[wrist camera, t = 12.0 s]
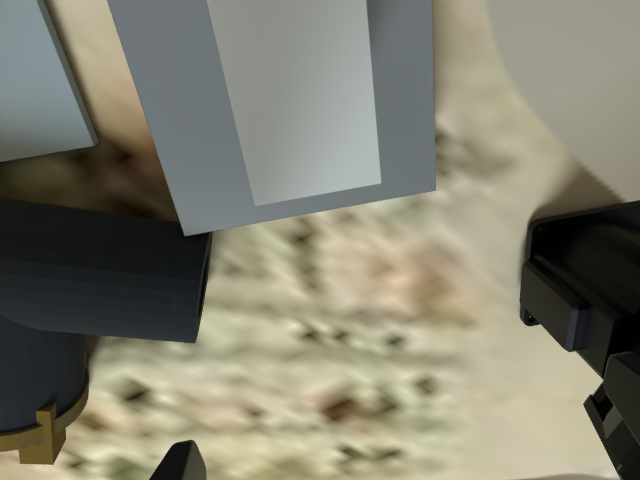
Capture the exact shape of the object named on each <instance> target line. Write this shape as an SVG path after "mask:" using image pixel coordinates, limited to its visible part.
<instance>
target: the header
mask: <svg viewBox="0 0 640 480" xmlns="http://www.w3.org/2000/svg"><path fill="white" fill-rule="evenodd" d="M107 2H108V5H109V8H110V11H111V14H112V17H113V20H114V23H115V26H116V29H117V32H118V35H119V38H120V41H121V44H122V47H123V50H124V54H125V57H126V60H127V63H128V66H129V69H130V72H131V75H132V78H133V81H134V84H135V87H136V90H137V93H138V96H139V99H140V102H141V105H142V108H143V111H144V114H145V117H146V120H147V123H148V126H149V129H150V132H151V136H152V139H153V142H154V145H155V148H156V151H157V154H158V157H159V160H160V163H161V166H162V169H163V172H164V175H165V178H166V181H167V184H168V187H169V190H170V193H171V196H172V199H173V202H174V205H175V208H176V211H177V214H178V217H179V221H180V224H181V227H182V230H183V233H184V236H189V235H194V234H200V233H205V232H211V231H216V230H222V229H227V228H233V227H238V226H244V225H249V224H255V223H260V222H266V221H271V220H277V219H282V218H288V217H293V216H299V215H304V214H310V213H315V212H321V211H326V210H332V209H337V208H343V207H348V206H354V205H359V204H365V203H370V202H375V201H381V200H386V199H392V198H397V197H403V196H408V195H414V194H419V193H425V192H430V191H436V171H435V122H434V72H433V22H432V0H366V4H367V16H368V28H369V40H370V52H371V64H372V76H373V89H374V101H375V113H376V125H377V137H378V149H379V161H380V173H381V183H380V184H375V185H369V186H364V187H358V188H353V189H347V190H342V191H336V192H331V193H325V194H320V195H314V196H309V197H303V198H298V199H292V200H286V201H281V202H275V203H270V204H264V205H259V206H255V204H254V200H253V196H252V192H251V187H250V183H249V179H248V175H247V170H246V166H245V162H244V158H243V153H242V149H241V145H240V141H239V136H238V132H237V128H236V123H235V119H234V115H233V111H232V106H231V102H230V98H229V94H228V89H227V85H226V81H225V77H224V72H223V68H222V64H221V60H220V55H219V51H218V47H217V42H216V38H215V34H214V30H213V25H212V21H211V17H210V13H209V8H208V4H207V0H107Z"/></svg>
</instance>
